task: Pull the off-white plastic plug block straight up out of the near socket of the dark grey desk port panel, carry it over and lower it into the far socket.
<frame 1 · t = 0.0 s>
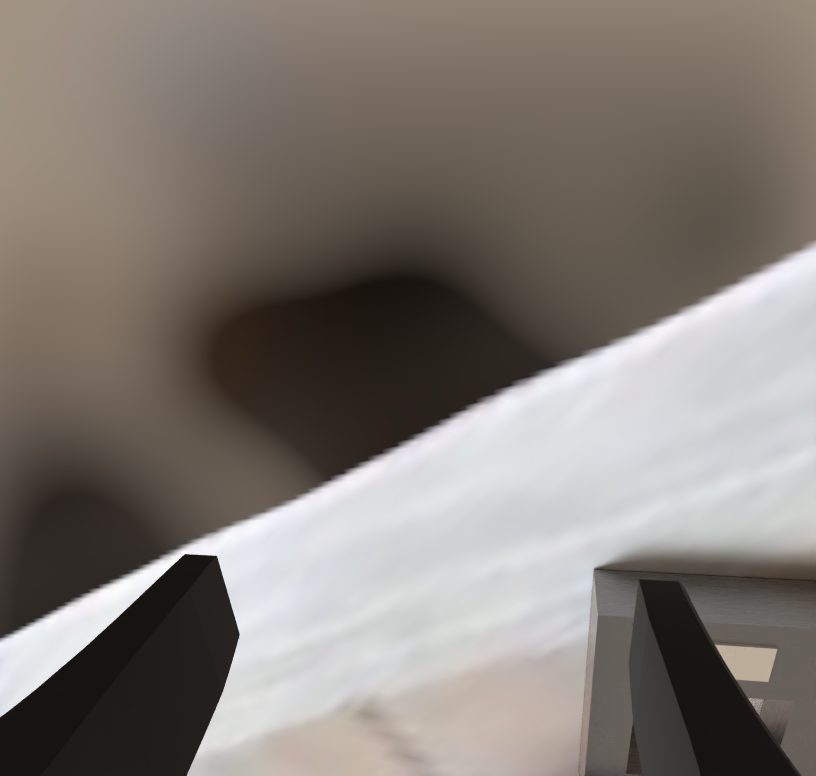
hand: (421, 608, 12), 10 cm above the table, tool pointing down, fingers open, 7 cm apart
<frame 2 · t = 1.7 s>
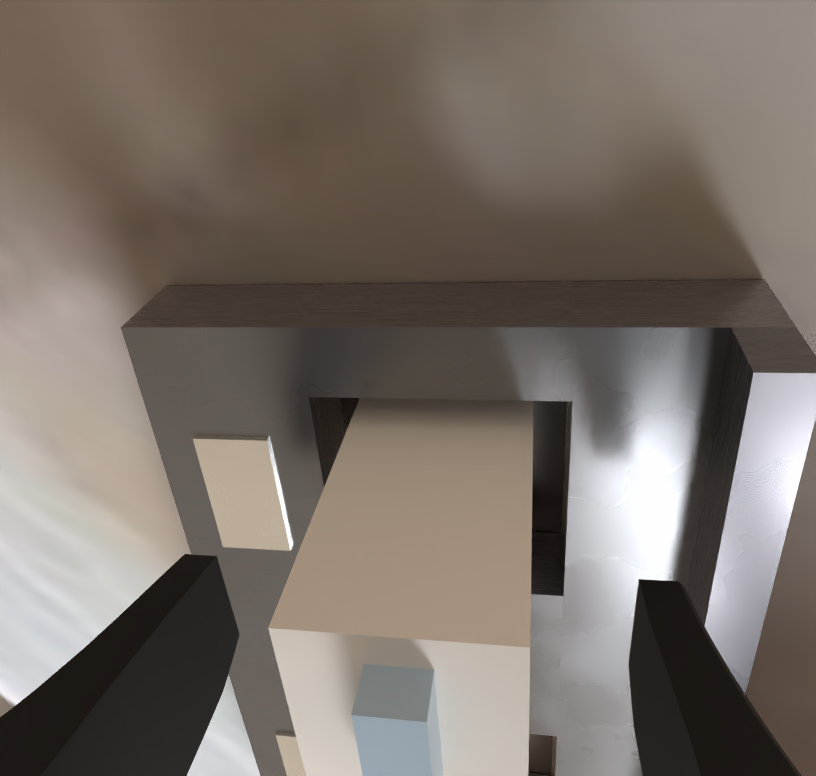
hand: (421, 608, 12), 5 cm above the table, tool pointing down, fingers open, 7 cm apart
plug: (453, 444, 17), resting in port panel
port panel: (461, 599, 19), on the table
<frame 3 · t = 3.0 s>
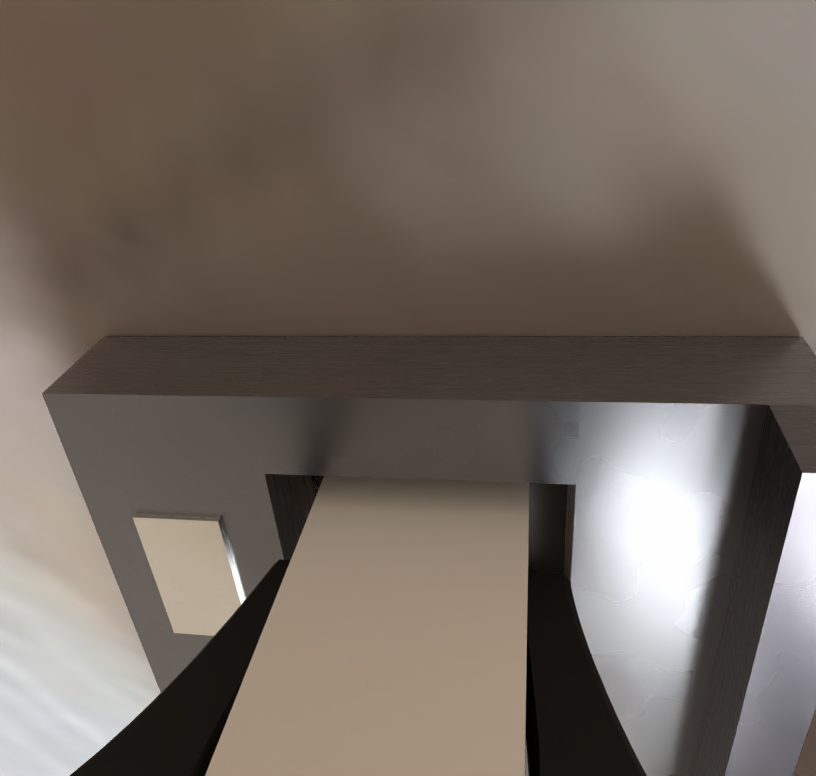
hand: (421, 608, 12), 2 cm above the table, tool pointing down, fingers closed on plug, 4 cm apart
plug: (437, 514, 14), resting in port panel, touching gripper
port panel: (449, 677, 17), on the table
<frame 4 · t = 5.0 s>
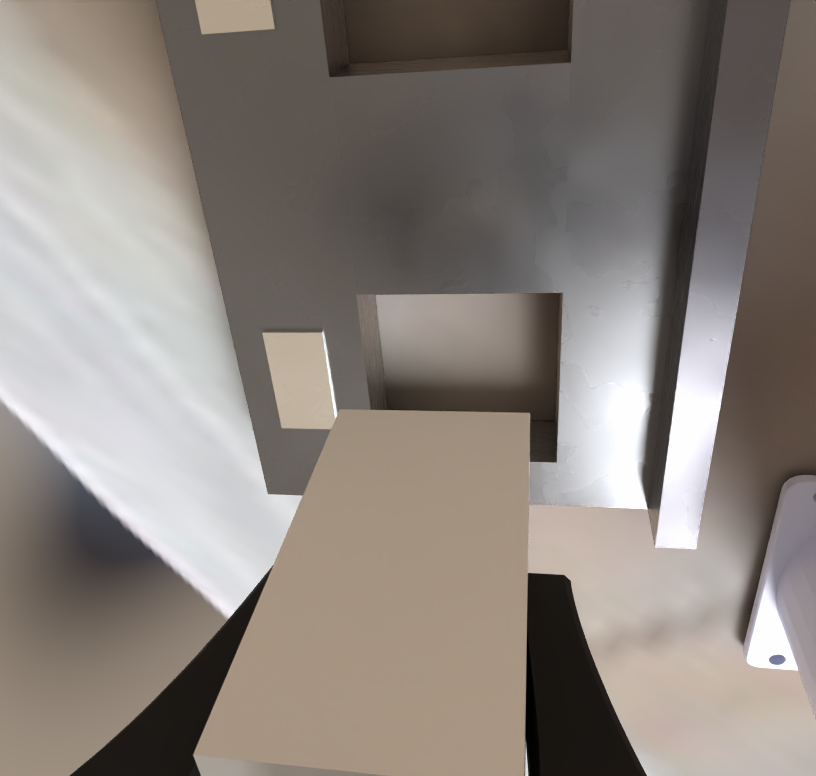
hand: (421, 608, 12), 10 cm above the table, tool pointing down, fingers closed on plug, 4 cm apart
plug: (438, 486, 14), point 7 cm above the table, touching gripper
port panel: (460, 167, 18), on the table
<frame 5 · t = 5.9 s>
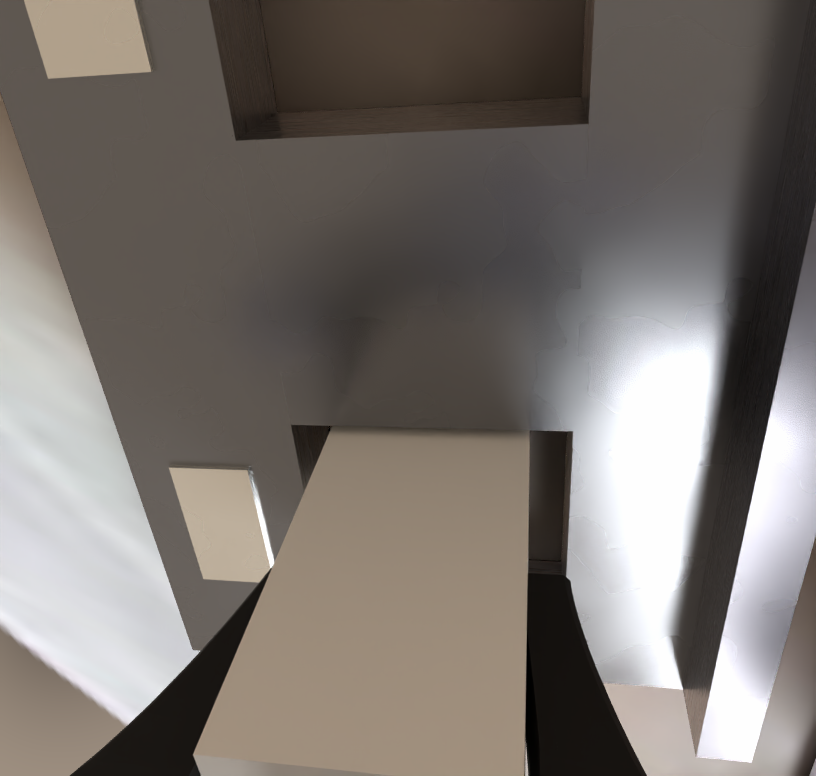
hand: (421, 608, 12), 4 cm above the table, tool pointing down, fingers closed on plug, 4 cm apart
plug: (437, 486, 14), point 1 cm above the table, touching gripper
port panel: (433, 251, 13), on the table
when the fingers open (3 cm above the table, at t = 6.8 s): plug stays where it is, resting in port panel.
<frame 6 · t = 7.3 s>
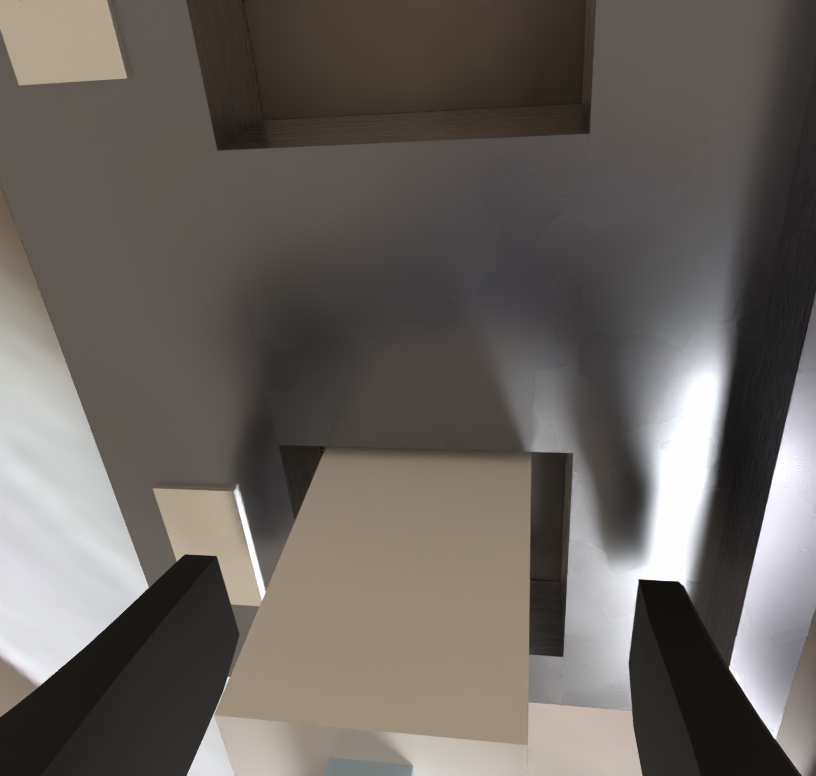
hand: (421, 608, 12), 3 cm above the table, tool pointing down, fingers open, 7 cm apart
plug: (442, 471, 15), resting in port panel
port panel: (426, 263, 13), on the table
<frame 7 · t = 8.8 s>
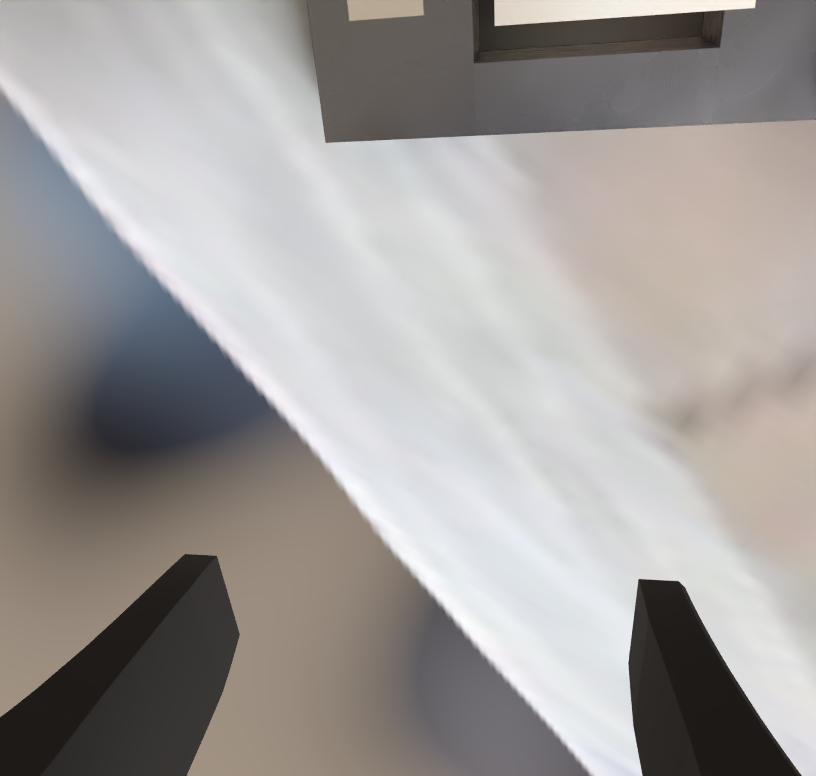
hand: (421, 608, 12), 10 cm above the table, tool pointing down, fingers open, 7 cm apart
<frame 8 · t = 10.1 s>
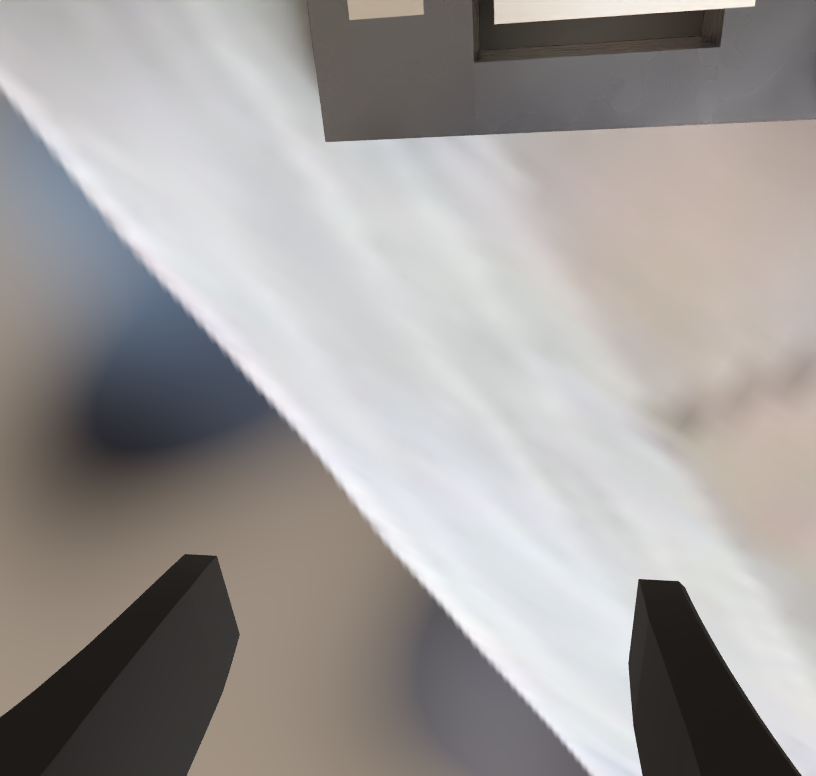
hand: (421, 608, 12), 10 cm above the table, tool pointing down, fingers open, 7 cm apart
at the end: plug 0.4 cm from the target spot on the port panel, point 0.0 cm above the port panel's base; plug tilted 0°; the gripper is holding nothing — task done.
